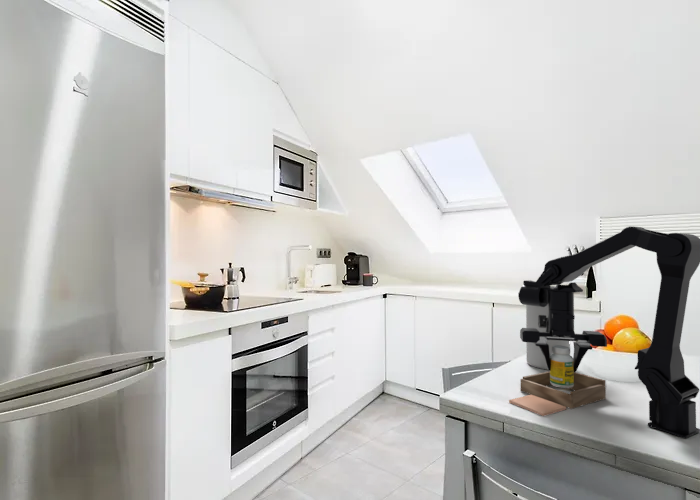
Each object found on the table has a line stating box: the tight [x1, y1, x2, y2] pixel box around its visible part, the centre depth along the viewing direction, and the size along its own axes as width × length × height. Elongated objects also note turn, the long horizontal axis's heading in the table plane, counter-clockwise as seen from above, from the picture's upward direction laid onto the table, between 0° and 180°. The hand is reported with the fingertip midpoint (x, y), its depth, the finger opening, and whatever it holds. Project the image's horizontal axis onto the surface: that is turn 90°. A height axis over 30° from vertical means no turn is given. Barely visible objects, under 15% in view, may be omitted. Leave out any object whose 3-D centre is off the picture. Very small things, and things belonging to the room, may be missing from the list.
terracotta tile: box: [508, 394, 567, 417], centre depth 91 cm, size 9×8×1 cm
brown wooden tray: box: [520, 370, 607, 410], centre depth 99 cm, size 14×14×4 cm
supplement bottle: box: [549, 345, 574, 389], centre depth 99 cm, size 5×5×10 cm
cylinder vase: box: [525, 285, 571, 371], centre depth 126 cm, size 12×12×25 cm
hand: (561, 371), depth 99 cm, fingers closed on supplement bottle, 5 cm apart
